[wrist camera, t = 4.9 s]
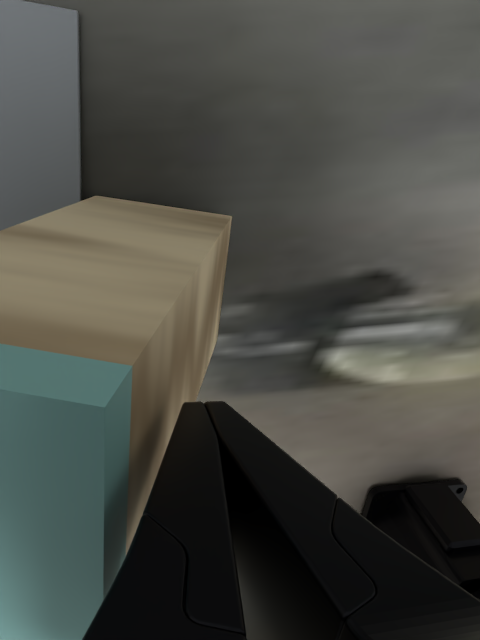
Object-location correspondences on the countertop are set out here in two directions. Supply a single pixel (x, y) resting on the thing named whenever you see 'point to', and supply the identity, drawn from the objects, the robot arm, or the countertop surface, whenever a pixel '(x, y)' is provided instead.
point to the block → (93, 391)
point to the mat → (38, 110)
